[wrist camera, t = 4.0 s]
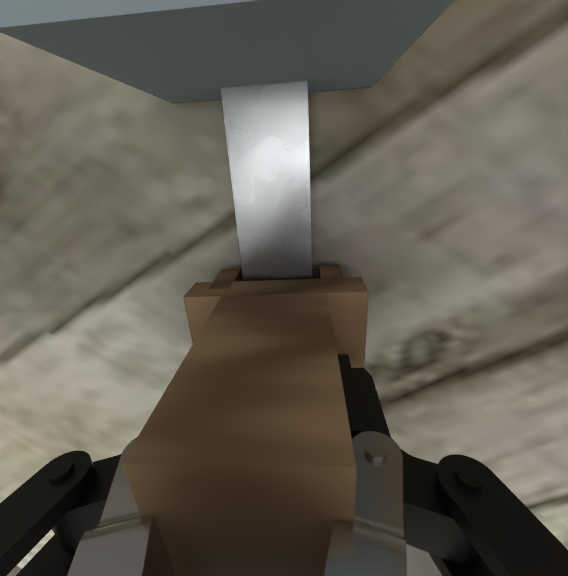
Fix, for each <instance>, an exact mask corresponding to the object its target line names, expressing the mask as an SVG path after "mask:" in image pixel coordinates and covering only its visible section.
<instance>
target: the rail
mask: <svg viewBox="0 0 568 576" xmlns="http://www.w3.org/2000/svg"><path fill="white" fill-rule="evenodd" d="M220 89H221V97H222V105H223V114H224V122H225V131H226V139H227V148H228V156H229V164H230V173H231V181H232V190H233V198H234V206H235V215H236V223H237V232H238V240H239V249H240V257H241V265H242V274H243V281H263V280H293V279H312V240H311V200H310V160H309V120H308V81H300V82H288V83H276V84H265V85H253V86H241V87H229V88H220Z"/></svg>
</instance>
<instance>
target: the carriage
mask: <svg viewBox="0 0 568 576" xmlns="http://www.w3.org/2000/svg"><path fill="white" fill-rule="evenodd" d="M183 298H184V303H185V307H186V312H187V317H188V322H189V327H190V332H191V337H192V342H193V345H192V347H191V348H190V350H189V352H188V354H187V355H186V357H185V359H184V360H183V362H182V364H181V365H180V367H179V369H178V370H177V372H176V374H175V375H174V377H173V379H172V380H171V382H170V384H169V385H168V387H167V389H166V391H165V392H164V394H163V396H162V397H161V399H160V401H159V402H158V404H157V406H156V407H155V409H154V411H153V412H152V414H151V416H150V417H149V419H148V421H147V423H146V424H145V426H144V428H143V429H142V431H141V433H140V434H139V436H138V438H137V439H136V441H135V443H134V444H133V446H132V448H131V449H130V451H129V453H128V455H127V456H126V458H125V460H124V461H123V463H122V467H123V469H124V472H125V475H126V477H127V480H128V483H129V485H130V488H131V491H132V493H133V496H134V498H135V501H136V504H137V506H138V509H139V512H140V514H141V517H142V516H148V515H154V516H155V519H156V522H157V524H158V527H159V530H160V533H161V535H162V538H163V541H164V544H165V547H166V549H167V552H168V555H169V558H170V560H171V563H172V566H173V569H174V571H175V574H176V576H324V573H325V567H326V562H327V556H328V550H329V545H330V539H331V533H332V528H333V523H334V520H335V519H336V520H343V521H348V522H354V512H355V491H356V469H357V468H356V462H355V456H354V450H353V444H352V438H351V432H350V426H349V420H348V414H347V408H346V402H345V396H344V390H343V384H342V379H341V373H340V367H339V361H338V355H337V354H348V355H349V359H350V364H351V368H362V367H363V368H364V364H365V345H366V325H367V306H368V290H367V288H366V286H365V284H364V282H363V280H362V278H361V277H353V278H343V277H342V274H341V270H340V267H339V265H325V266H319V279H293V280H263V281H242V273H241V269H222V271H221V272H220V273H219V275H218V276H217V277H216V279H215V280H214V282H202V283H195V284H194V286H193V287H192V288H191V289H190V290H189V291H188V293H187V294H186V295H185V296H184V297H183Z"/></svg>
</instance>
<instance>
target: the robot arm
mask: <svg viewBox="0 0 568 576" xmlns="http://www.w3.org/2000/svg"><path fill="white" fill-rule="evenodd" d="M337 355H338V361H339V367H340V373H341V379H342V384H343V390H344V396H345V402H346V408H347V414H348V420H349V426H350V432H351V438H352V444H353V450H354V456H355V462H356V468H357V469H356V491H355V512H354V522H348V521H343V520H336V519H335V520H334V523H333V528H332V533H331V539H330V545H329V550H328V556H327V562H326V567H325V573H324V576H407V550H406V544H408V545H410V546H413V547H415V548H418V549H420V550H423V551H425V552H428V553H429V554H430V556H431V558H432V560H433V561H434V563H435V565H436V566H437V568H438V570H439V571H440V573H441V575H442V576H568V550H567V549H566V548H565V547H564V546H563V545H562V544H561V542H560V541H559V540H558V539H557V538H556V537H555V536H554V535H553V534H552V533H551V532H550V531H549V530H548V529H547V528H546V527H545V526H544V525H543V524H542V523H541V522H540V521H539V520H538V519H537V518H536V517H535V516H534V515H533V513H532V512H531V511H530V510H529V509H528V508H527V507H526V506H525V505H524V504H523V503H522V502H521V501H520V500H519V499H518V498H517V497H516V496H515V495H514V494H513V493H512V492H511V491H510V490H509V489H508V488H507V487H506V485H505V484H504V483H503V482H502V481H501V480H500V479H499V478H498V477H497V476H496V475H495V474H494V473H493V472H492V471H491V470H490V469H489V468H488V467H486V466H485V465H484V464H482V463H481V462H479V461H477V460H475V459H473V458H470V457H468V456H464V455H449V456H446V457H444V458H443V459H441V460H440V462H439V464H436V463H432V462H429V461H425V460H422V459H419V458H416V457H413V456H411V455H409V454H407V453H406V452H404V451H403V450H402V449H400V448H399V446H398V445H397V443H396V442H395V441H394V440H393V439H392V438H391V436H390V433H389V430H388V427H387V424H386V420H385V417H384V414H383V411H382V407H381V404H380V401H379V399H378V394H377V391H376V389H375V385H374V381H373V378H372V376H371V375H370V374H369V373H368V372H367V371H366V370H365V369H364V368H363V367H362V368H351V364H350V359H349V355H348V354H337ZM137 438H138V437H137ZM137 438H135V439H134V440H133V441H131V442H130V443H129V444H128V445H127V446H126V448H125V449H124V451H123V452H122V454H120V455H117V456H114V457H110V458H106V459H103V460H99V461H95V462H92V460H91V458H90V456H89V454H88V453H86V452H84V451H72V452H68V453H65V454H63V455H61V456H59V457H57V458H55V459H53V460H52V461H50V462H49V463H48V464H46V465H45V466H44V467H43V468H42V469H40V470H39V471H38V472H37V473H36V474H34V475H33V476H32V477H31V478H30V479H29V480H27V481H26V482H25V483H24V484H23V485H21V486H20V487H19V488H18V489H17V490H16V491H14V492H13V493H12V494H11V495H10V496H8V497H7V498H6V499H5V500H4V501H3V502H1V503H0V576H7V574H8V573H9V572H10V571H11V570H12V569H13V568H14V567H15V566H16V565H17V564H18V563H19V562H20V561H21V560H22V559H23V558H24V557H25V556H26V555H27V554H28V553H29V552H30V551H31V550H32V549H33V548H34V547H35V546H36V545H37V544H38V542H39V541H40V540H41V539H42V538H43V537H44V536H45V535H46V534H47V533H48V532H49V531H50V530H51V529H52V530H53V532H54V533H55V535H54V536H53V537H52V538H51V539H50V540H49V541H48V542H47V543H46V544H45V545H44V546H43V548H42V549H41V550H40V551H39V552H38V553H37V554H36V555H35V556H34V557H33V558H32V559H31V560H30V561H29V562H28V563H27V564H26V565H25V567H24V568H23V569H22V570H21V571H20V572H19V573H18V574H17V575H16V576H176V574H175V571H174V569H173V566H172V563H171V560H170V558H169V555H168V552H167V549H166V547H165V544H164V541H163V538H162V535H161V533H160V530H159V527H158V524H157V522H156V519H155V516H154V515H148V516H142V517H141V514H140V512H139V509H138V506H137V504H136V501H135V498H134V496H133V493H132V491H131V488H130V485H129V483H128V480H127V477H126V475H125V472H124V469H123V467H122V463H123V461H124V460H125V458H126V456H127V455H128V453H129V451H130V449H131V448H132V446H133V444H134V443H135V441H136V439H137Z"/></svg>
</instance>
